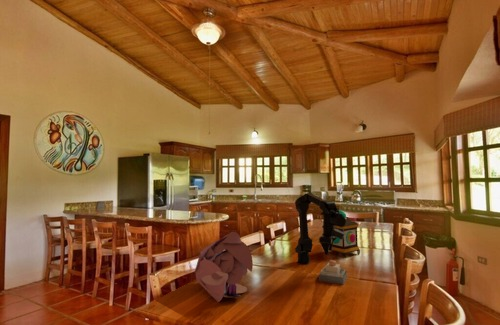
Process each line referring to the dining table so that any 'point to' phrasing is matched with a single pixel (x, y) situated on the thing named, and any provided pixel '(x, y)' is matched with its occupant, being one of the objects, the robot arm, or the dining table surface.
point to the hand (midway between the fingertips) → (328, 252)
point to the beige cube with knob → (333, 267)
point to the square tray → (333, 276)
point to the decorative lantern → (347, 238)
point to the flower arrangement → (224, 267)
